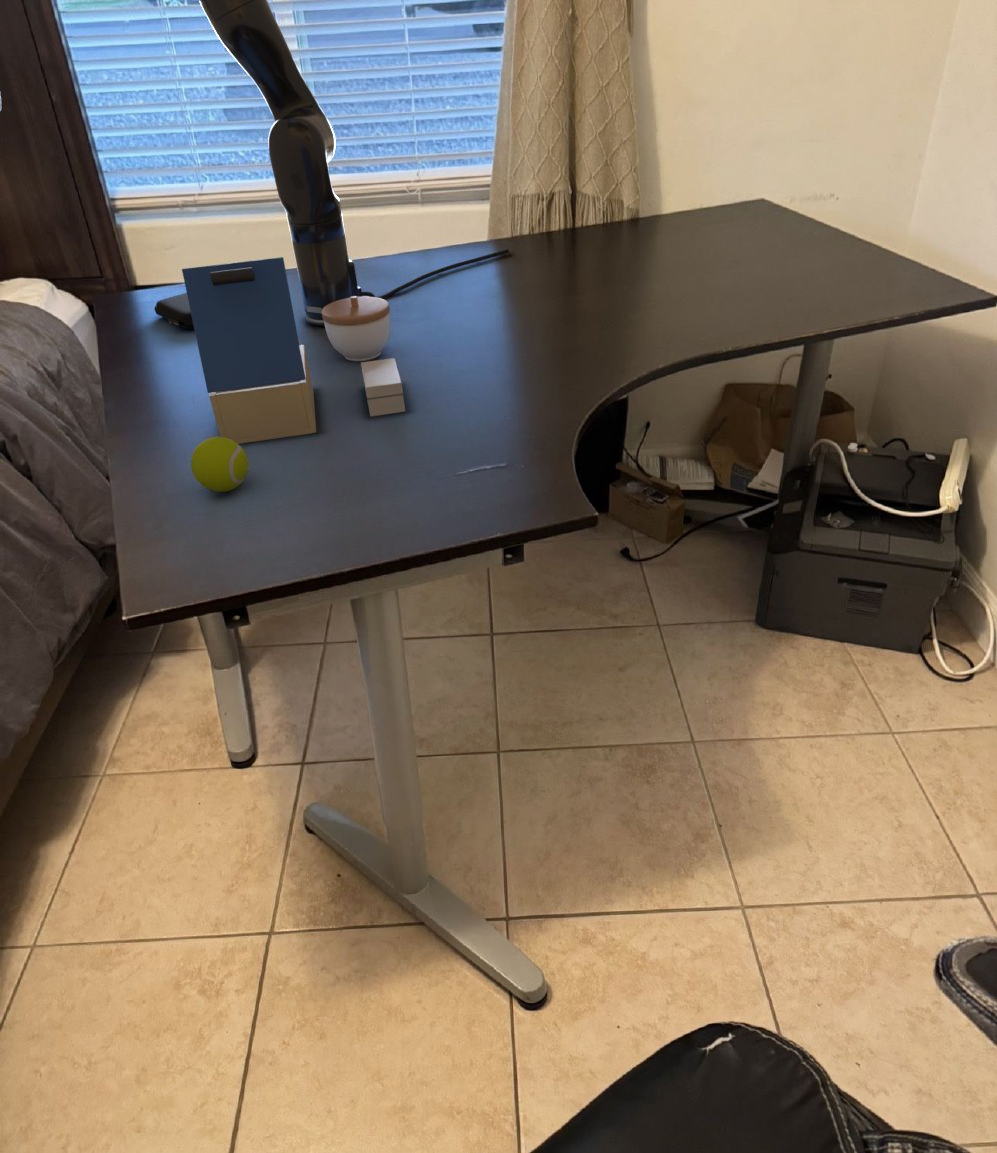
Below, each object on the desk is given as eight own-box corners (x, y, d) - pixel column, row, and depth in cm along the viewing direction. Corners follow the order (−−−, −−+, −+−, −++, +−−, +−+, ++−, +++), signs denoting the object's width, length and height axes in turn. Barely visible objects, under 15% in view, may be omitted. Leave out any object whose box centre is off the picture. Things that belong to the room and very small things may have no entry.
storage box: (228, 402, 129) (216, 355, 125) (313, 391, 131) (304, 344, 126) (222, 446, 117) (209, 396, 113) (316, 432, 119) (306, 383, 115)
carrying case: (147, 318, 163) (182, 335, 154) (142, 302, 161) (177, 319, 152) (199, 303, 169) (236, 319, 160) (195, 287, 167) (232, 302, 158)
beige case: (364, 390, 130) (360, 362, 127) (398, 385, 130) (394, 357, 128) (369, 417, 122) (365, 387, 119) (405, 411, 123) (401, 382, 120)
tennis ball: (217, 472, 111) (204, 425, 107) (263, 477, 109) (251, 429, 105) (188, 499, 106) (172, 450, 102) (236, 504, 104) (222, 455, 100)
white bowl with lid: (342, 372, 136) (331, 313, 130) (321, 351, 144) (310, 295, 138) (405, 356, 139) (397, 298, 134) (381, 337, 147) (373, 281, 142)
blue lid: (182, 269, 109) (175, 264, 105) (283, 257, 111) (280, 252, 106) (208, 392, 113) (202, 393, 109) (305, 379, 115) (303, 379, 110)
